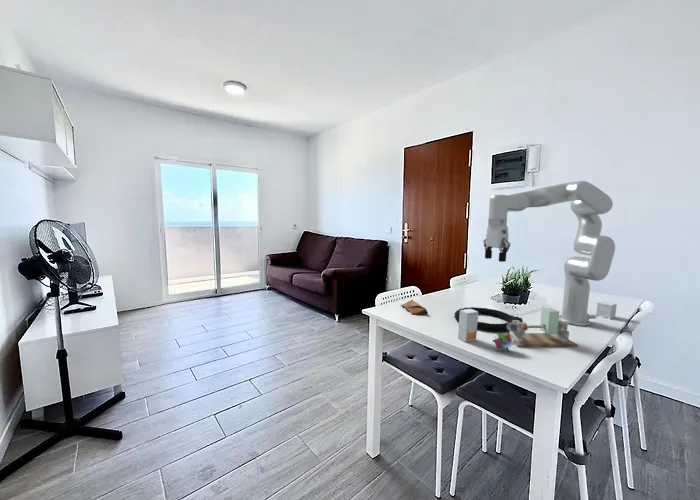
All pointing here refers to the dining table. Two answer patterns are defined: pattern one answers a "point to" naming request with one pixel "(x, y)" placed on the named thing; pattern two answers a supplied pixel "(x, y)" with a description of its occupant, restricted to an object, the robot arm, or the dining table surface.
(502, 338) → the geometric puzzle
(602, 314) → the skincare box
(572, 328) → the dining table surface
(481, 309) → the cable lock
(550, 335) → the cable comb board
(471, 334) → the skincare box
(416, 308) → the sunglasses case
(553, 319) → the sleeve
